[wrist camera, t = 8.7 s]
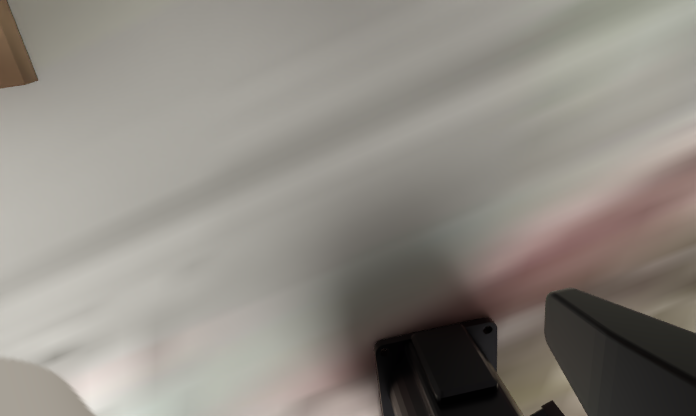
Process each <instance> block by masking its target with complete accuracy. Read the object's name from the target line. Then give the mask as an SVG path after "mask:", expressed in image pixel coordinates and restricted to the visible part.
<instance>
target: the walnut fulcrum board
mask: <svg viewBox="0 0 696 416" xmlns="http://www.w3.org/2000/svg"><path fill="white" fill-rule="evenodd" d="M35 81H38V79H37V76H36V74H35V71H34V69H33V66H32V64H31V61H30V59H29V56H28V54H27V51H26V49H25V46H24V44H23V41H22V38H21V36H20V33H19V31H18V28H17V26H16V23H15V21H14V18H13V16H12V13H11V11H10V8H9V6H8V3H7V1H6V0H0V88H6V87H13V86H20V85H26V84H29V83H32V82H35Z"/></svg>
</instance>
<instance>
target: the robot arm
mask: <svg viewBox="0 0 696 416" xmlns="http://www.w3.org/2000/svg"><path fill="white" fill-rule="evenodd" d="M487 326H489V327H488V328H486V329H484V328H485V327H487ZM544 333H545V338H546V342H547V344H548V346H549V348H550V350H551V352H552V353H553V355H554V357H555V359H556V360H557V362H558V364H559V366H560V367H561V369H562V371H563V373H564V374H565V376H566V378H567V380H568V382H569V383H570V385H571V387H572V389H573V390H574V392H575V394H576V396H577V397H578V399H579V401H580V403H581V404H582V406H583V408H584V410H585V411H586V413H587V415H588V416H696V333H694V332H691V331H688V330H685V329H683V328H680V327H677V326H675V325H672V324H669V323H667V322H664V321H661V320H658V319H656V318H653V317H650V316H648V315H645V314H642V313H640V312H637V311H634V310H631V309H629V308H626V307H623V306H621V305H618V304H615V303H613V302H610V301H607V300H604V299H602V298H599V297H596V296H594V295H591V294H588V293H586V292H583V291H580V290H577V289H574V288H567V289H562V290H557V291H553V292H550V293H549V294H548V295H547V297H546V304H545V327H544ZM382 349H387V350H385V351H381V350H382ZM374 355H375V362H376V370H377V377H378V385H379V392H380V400H381V407H382V415H383V416H524V415H523V414H522V412H521V410H520V409H519V407H518V406H517V404H516V402H515V401H514V399H513V398H512V396H511V395H510V393H509V391H508V390H507V388H506V387H505V385H504V383H503V382H502V380H501V379H500V377H499V375H498V374H497V326H496V324H495V323H494V321H493V320H492V319H491V318H481V319H476V320H472V321H467V322H462V323H458V324H453V325H448V326H444V327H439V328H434V329H430V330H425V331H420V332H416V333H411V334H406V335H402V336H397V337H392V338H388V339H383V340H380V341H378V342H377V343H376V344H375V346H374ZM541 407H542V409H541V410H539V411H537V412H535V413H534V414H532V415H530V416H564V414H563V413H562V412H561V410H560V409H559V408H558V407H557V405H556V404H555V403H554V402H553V400H552V401H550V402H548V403H546V404H545V405H543V406H541Z"/></svg>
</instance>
